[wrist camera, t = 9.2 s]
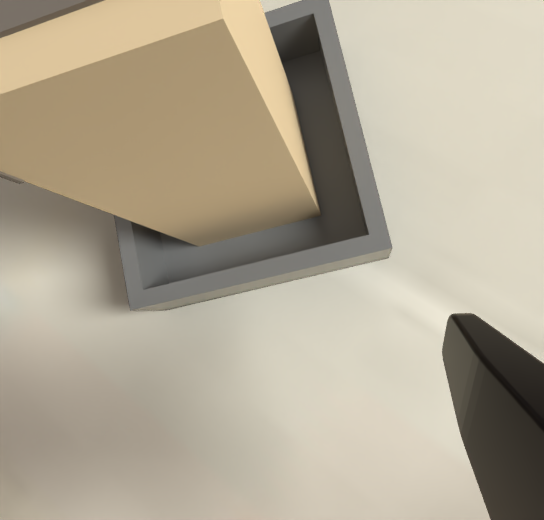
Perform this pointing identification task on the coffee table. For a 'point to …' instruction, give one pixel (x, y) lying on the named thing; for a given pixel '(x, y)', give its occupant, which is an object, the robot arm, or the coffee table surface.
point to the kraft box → (154, 113)
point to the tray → (291, 237)
